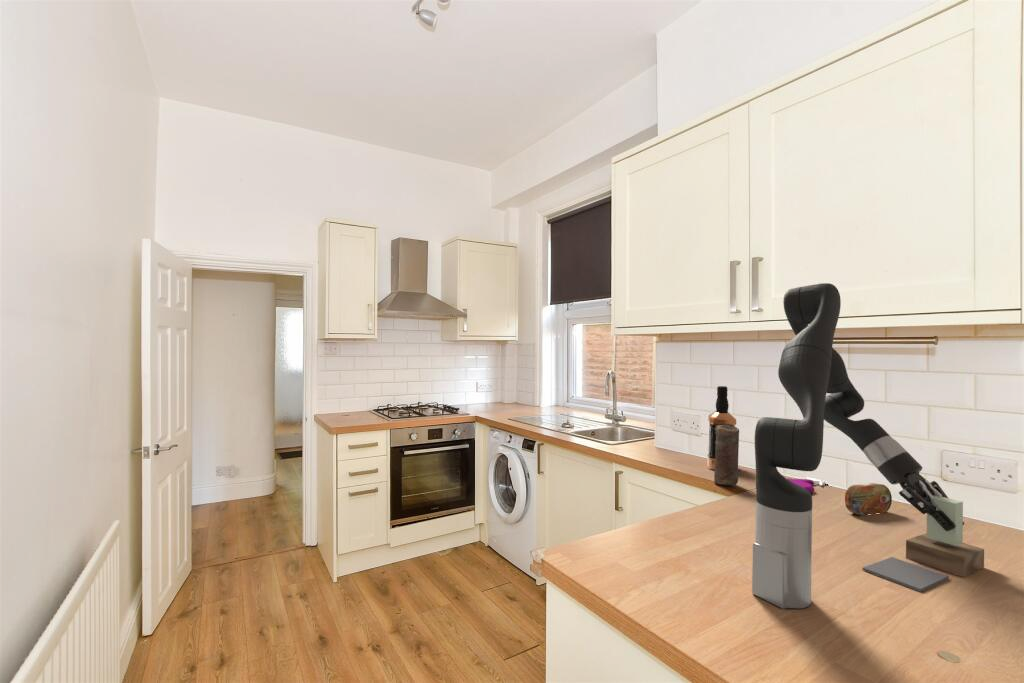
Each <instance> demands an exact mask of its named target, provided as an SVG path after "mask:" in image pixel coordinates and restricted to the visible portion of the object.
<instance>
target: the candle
mask: <svg viewBox="0 0 1024 683" xmlns="http://www.w3.org/2000/svg"><path fill="white" fill-rule="evenodd" d="M739 444H740V429H739V428H738V427H737V426H735V427H734V426H729V425H718V426H717V429H716V453H715V470H714V476H713V477H714V478H713V480H714V481H713V482H714V483H715V484H718V485H722V486H728V487H733V486H736V485H737V484H738V482H739V446H740V445H739Z"/></svg>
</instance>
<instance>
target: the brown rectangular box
mask: <svg viewBox="0 0 1024 683" xmlns="http://www.w3.org/2000/svg"><path fill="white" fill-rule="evenodd" d="M905 558H906V559H909V560H911V561H914V562H918V563H920V564H923V565H926V566H930V567H932V568H935V569H938V570H941V571H944V572H948V573H950V574H953V575H956V576H959V577H963V578H964V577H968V576H969V575H971V574H974V573H975V572H978V571H980V570H982V569H984V568H985V548H983V547H978V546H975V545H972V544H968V543H964V542H963V543H961V544H959V545H956V546H954V545H951V544H948V543H944V542H941V541H937V540H934V539H930V538H927V532H925V533H923V534H919V535H916V536H914V537H911V538H908V539H906V540H905Z"/></svg>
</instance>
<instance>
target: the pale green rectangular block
mask: <svg viewBox="0 0 1024 683" xmlns="http://www.w3.org/2000/svg"><path fill="white" fill-rule="evenodd" d="M933 497H934V502H935V503H936V504H937V505H938V507H939V508H940V509H941V510H940V511H943V512H944V513H945V514H946V516H947V517H948V518H949V519H950V520H951V521H952V522H953V523H954V524H955V525H956V528H954V529H952V530H950V531H945V530H944V529H943V528H942V526H941V525H940V524H939V523H938V522H937V521H936V520H935V519H934V518H933V517H932V515H931V516H929V515H928V514H927V513H926V533H927V538H930V539H934V540H937V541H941V542H944V543H948V544H951V545H954V546H956V545H959V544H961V543H964V542H963V539H964V538H963V537H964V536H963V535H964V534H963V533H964V532H963V529H964V527H963V526H964V525H963V522H964V518H963V517H964V502H963V501H962V500H957V499H953V498H949V497H948V498H945V497H939V496H936V495H933Z"/></svg>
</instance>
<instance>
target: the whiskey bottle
mask: <svg viewBox="0 0 1024 683" xmlns="http://www.w3.org/2000/svg"><path fill="white" fill-rule="evenodd" d="M716 389H717V390H716V392H717V393H716V396H717V398H716V400H715V411H714V412H712V413H711V414H709V415H708V417H707V420H708V423H709V431H708V433H709V434H708V453H707V457H706V458H707V459H706V464H707V467H708V468H707V469H709V470H713V471H715V453H716V429H717V426H718V425H729V426H734V427H736V425H737V418H735V417H734V416H733V415H732V414H731V413H730V412H729V407H730V406H729V400H728V391H729V390H728V386H726V385H725V386H724V385H718V386H717V387H716Z"/></svg>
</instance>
